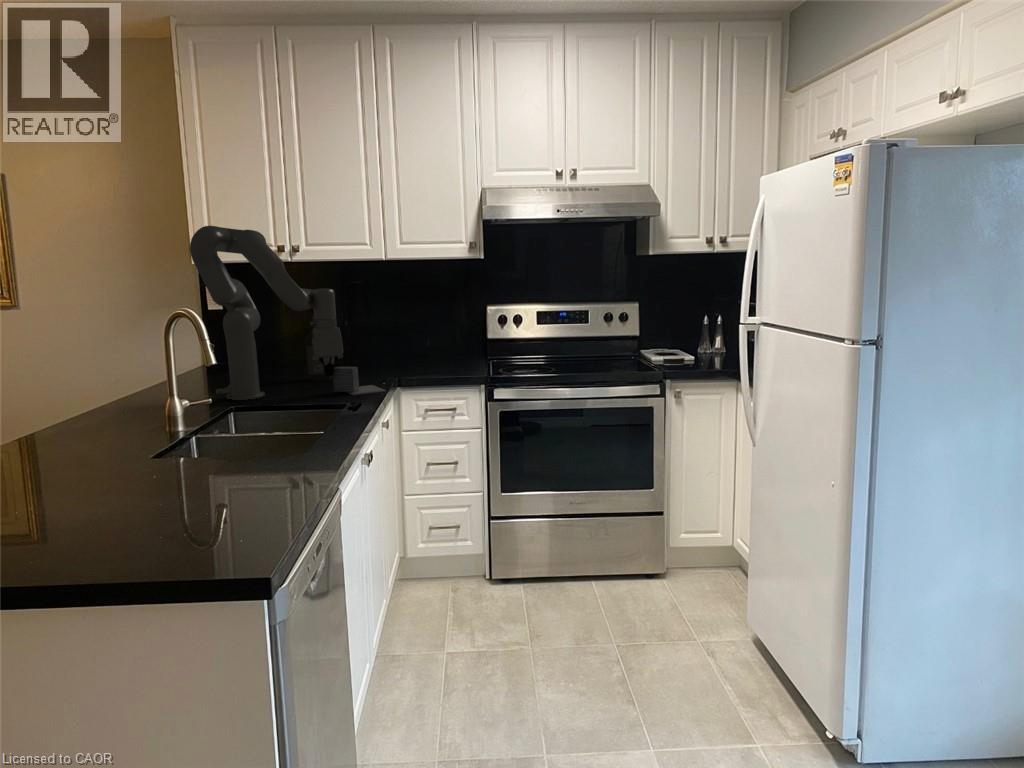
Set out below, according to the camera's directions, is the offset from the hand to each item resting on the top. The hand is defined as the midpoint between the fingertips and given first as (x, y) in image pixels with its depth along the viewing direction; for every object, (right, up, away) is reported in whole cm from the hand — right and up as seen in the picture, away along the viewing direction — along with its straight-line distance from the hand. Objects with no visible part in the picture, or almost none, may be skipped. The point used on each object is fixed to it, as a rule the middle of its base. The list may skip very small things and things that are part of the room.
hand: (329, 375), depth 246 cm
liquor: (-13, -1, +35) cm, 37 cm away
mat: (+11, -5, +8) cm, 14 cm away
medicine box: (+5, -6, +4) cm, 9 cm away
